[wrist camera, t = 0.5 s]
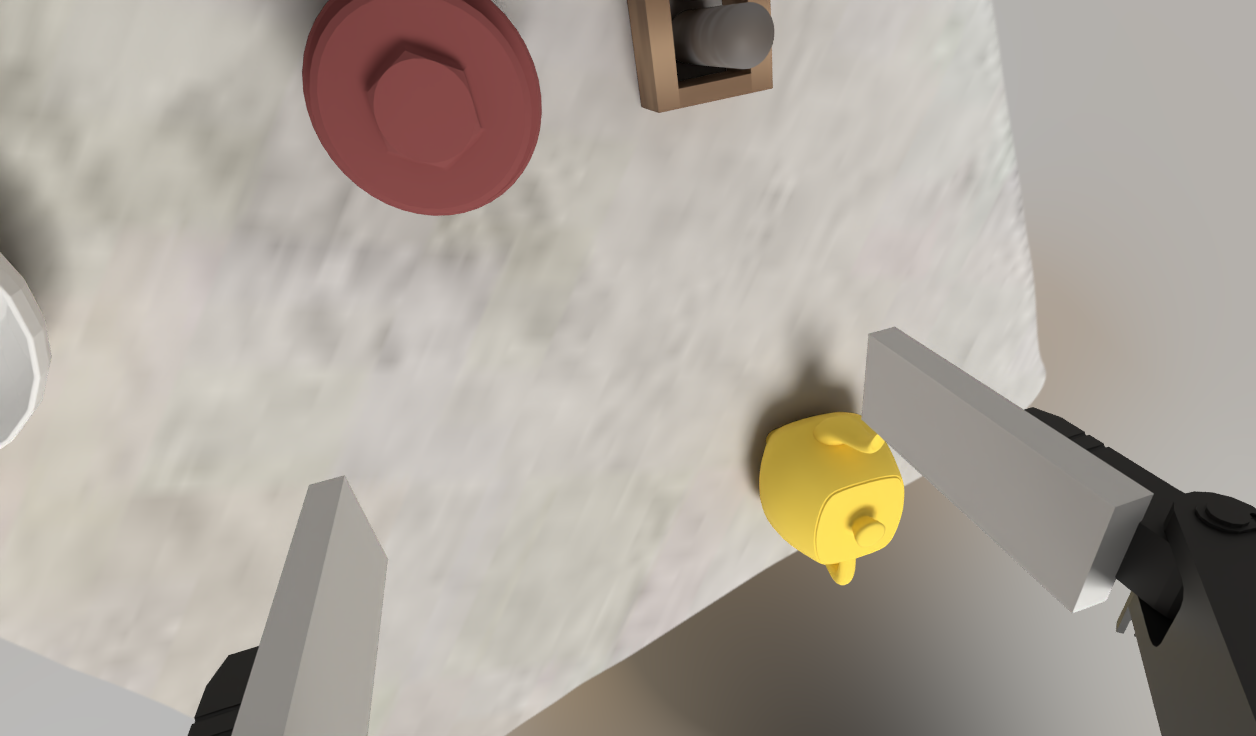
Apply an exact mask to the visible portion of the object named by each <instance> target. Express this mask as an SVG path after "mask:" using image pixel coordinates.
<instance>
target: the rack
mask: <svg viewBox="0 0 1256 736" xmlns="http://www.w3.org/2000/svg"><path fill="white" fill-rule="evenodd" d="M627 3H628V10H629V18H630V25H631V32H632V40H633V47H634V54H635V62H636V69H637V76H638V84H639V91H640V99H641V106H642V107H643V108H646V109H649V110H652V111H655V112H658V113H661V112H665V111H670V110H674V109H679V108H684V107H688V106H693V105H698V104H702V103H707V102H711V101H716V100H721V99H725V98H730V97H735V96H739V95H744V94H748V93H753V92H758V91H762V90H767V89H772V88H773V80H772V44H773V40H774V25H773V21H772V18H771V8H770V0H722V6H715V7H708V8H700V9H693V10H686V11H683V12H681V13H680V14H678V15H677V16H676V17H675V18H674V19H673V21H672V22H671V12H670V2H669V0H627ZM675 59H676V60H678V61H679V62H681V63H684V64H693V65H704V66H715V67H726V69H727V71H725V72H720V73H715V74H710V75H706V76H701V77H696V78H691V79H686V80H682V81H678V79H677V69H676V60H675Z"/></svg>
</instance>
